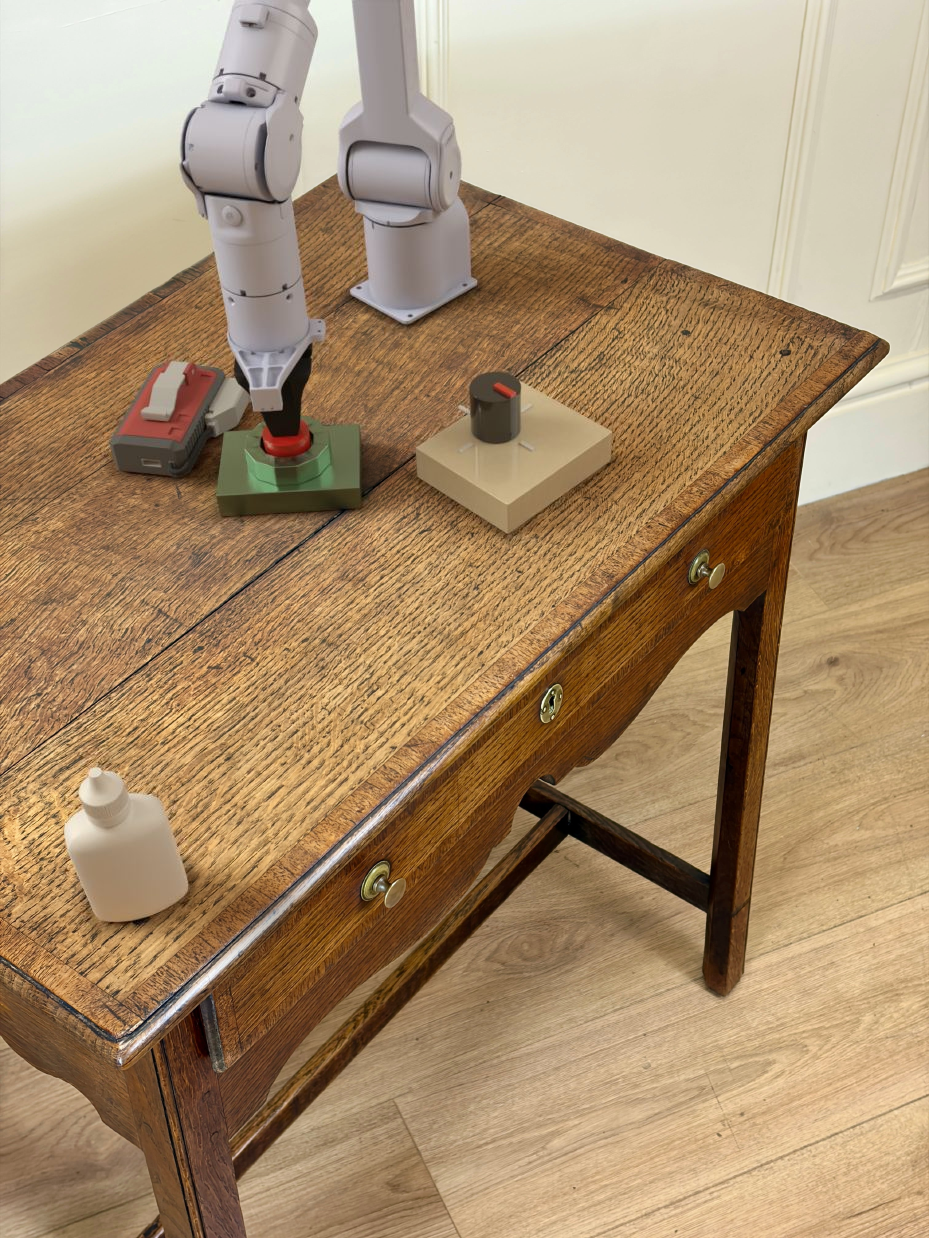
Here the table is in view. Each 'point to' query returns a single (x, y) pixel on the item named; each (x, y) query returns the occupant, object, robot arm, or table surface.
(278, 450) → the button
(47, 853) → the table surface
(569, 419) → the panel
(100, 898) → the eye dropper bottle
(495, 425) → the dial
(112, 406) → the table surface
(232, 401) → the walkie-talkie
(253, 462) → the housing
